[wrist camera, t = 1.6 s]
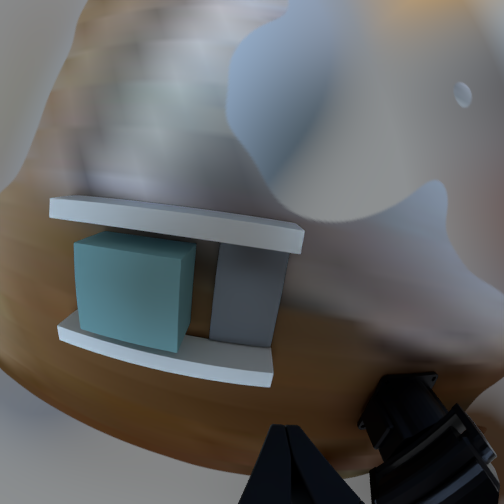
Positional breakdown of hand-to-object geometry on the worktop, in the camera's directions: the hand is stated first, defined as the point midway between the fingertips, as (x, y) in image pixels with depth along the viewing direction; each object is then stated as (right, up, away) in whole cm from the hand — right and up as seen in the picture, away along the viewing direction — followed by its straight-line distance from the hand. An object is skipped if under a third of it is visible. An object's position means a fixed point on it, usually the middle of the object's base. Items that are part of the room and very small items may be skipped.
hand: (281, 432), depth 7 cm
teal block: (-8, +4, +11) cm, 14 cm away
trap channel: (-6, +4, +10) cm, 13 cm away
